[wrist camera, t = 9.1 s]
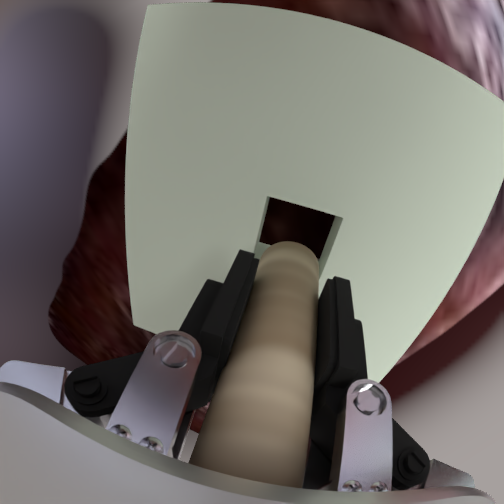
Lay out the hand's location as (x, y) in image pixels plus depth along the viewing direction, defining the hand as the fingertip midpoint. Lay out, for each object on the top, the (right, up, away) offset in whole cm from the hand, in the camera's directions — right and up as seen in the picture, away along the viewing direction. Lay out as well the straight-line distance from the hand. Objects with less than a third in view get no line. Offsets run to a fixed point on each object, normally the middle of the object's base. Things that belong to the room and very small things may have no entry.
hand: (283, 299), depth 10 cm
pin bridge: (+2, +5, +8) cm, 10 cm away
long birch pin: (0, +1, +2) cm, 2 cm away
